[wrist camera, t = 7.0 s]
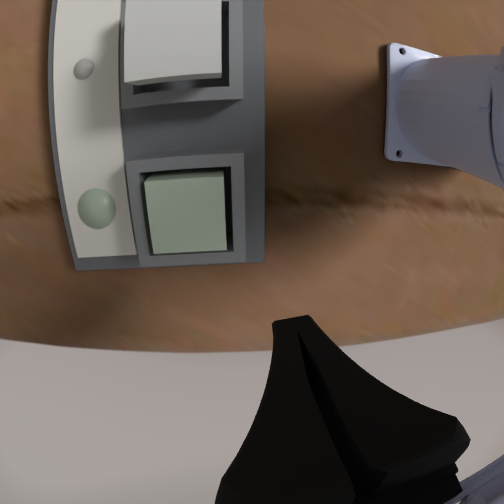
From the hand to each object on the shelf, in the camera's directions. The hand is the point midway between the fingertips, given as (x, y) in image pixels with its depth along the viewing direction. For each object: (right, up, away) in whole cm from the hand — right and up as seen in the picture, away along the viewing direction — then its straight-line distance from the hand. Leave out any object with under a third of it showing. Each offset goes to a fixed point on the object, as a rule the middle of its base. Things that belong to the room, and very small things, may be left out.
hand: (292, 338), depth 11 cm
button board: (-7, +14, +3) cm, 16 cm away
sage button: (-5, +6, +5) cm, 9 cm away
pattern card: (-10, +13, +1) cm, 16 cm away
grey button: (-5, +12, -1) cm, 13 cm away
